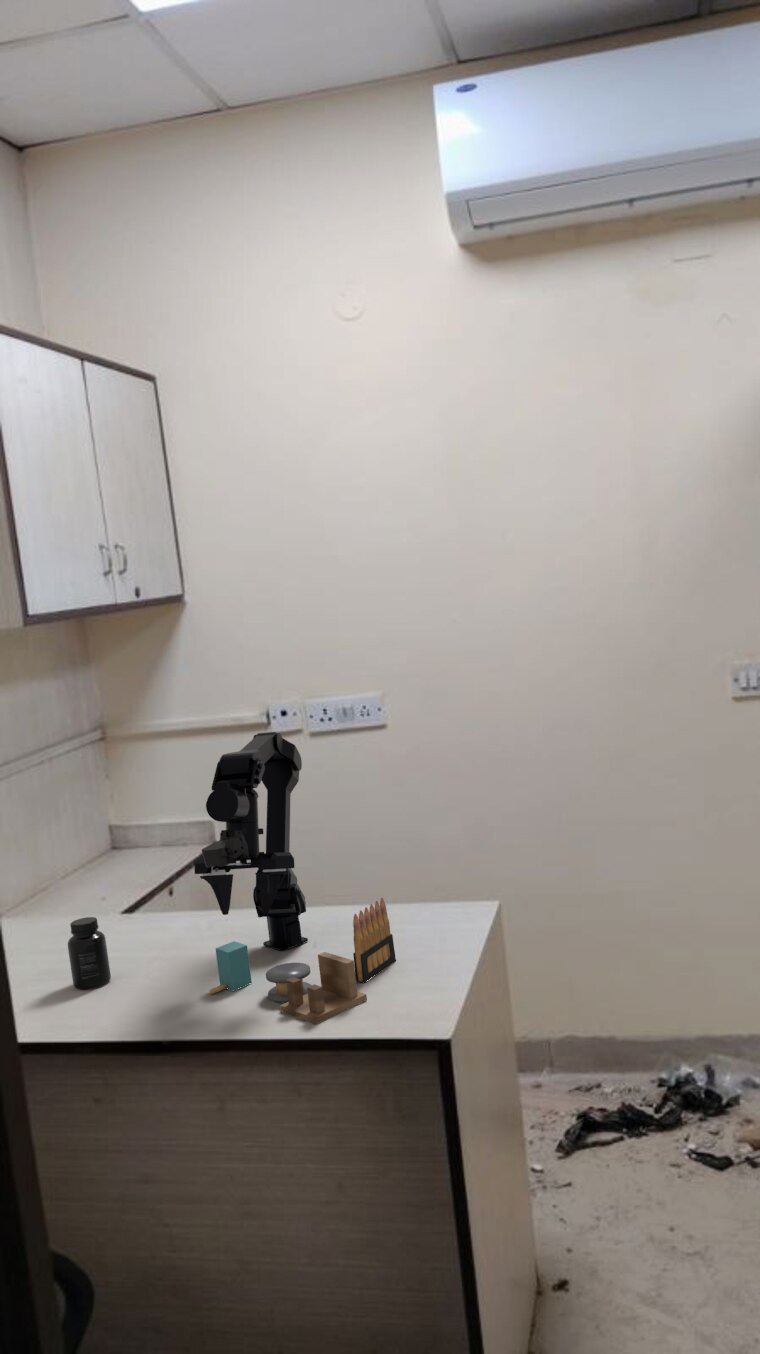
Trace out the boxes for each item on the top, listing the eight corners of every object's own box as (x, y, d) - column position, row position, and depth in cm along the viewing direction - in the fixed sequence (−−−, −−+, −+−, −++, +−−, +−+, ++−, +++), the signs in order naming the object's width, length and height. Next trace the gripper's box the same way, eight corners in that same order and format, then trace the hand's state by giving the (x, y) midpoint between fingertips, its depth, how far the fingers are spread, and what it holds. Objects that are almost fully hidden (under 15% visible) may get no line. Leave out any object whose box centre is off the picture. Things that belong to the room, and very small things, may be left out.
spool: (259, 996, 176) (256, 973, 176) (294, 981, 181) (291, 959, 181) (286, 1006, 171) (283, 983, 170) (321, 990, 176) (319, 968, 175)
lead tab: (203, 993, 181) (198, 954, 180) (238, 978, 186) (234, 941, 185) (216, 998, 178) (211, 958, 177) (251, 983, 183) (247, 945, 182)
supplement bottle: (118, 976, 193) (110, 914, 192) (97, 991, 187) (88, 927, 186) (87, 976, 196) (79, 914, 195) (65, 990, 189) (56, 927, 188)
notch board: (280, 1011, 169) (275, 969, 168) (332, 988, 176) (327, 948, 176) (315, 1024, 162) (310, 981, 162) (367, 1000, 170) (362, 958, 169)
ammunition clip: (364, 983, 177) (356, 915, 176) (355, 982, 178) (347, 914, 177) (396, 960, 186) (389, 896, 185) (387, 959, 187) (380, 895, 186)
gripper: (171, 827, 181) (173, 918, 178) (252, 819, 171) (255, 916, 168) (214, 827, 190) (217, 914, 187) (294, 819, 180) (298, 911, 177)
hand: (245, 914), depth 180 cm, fingers open, 9 cm apart
